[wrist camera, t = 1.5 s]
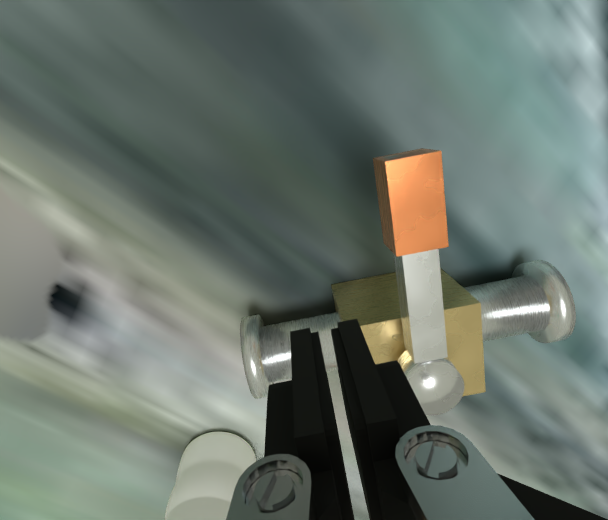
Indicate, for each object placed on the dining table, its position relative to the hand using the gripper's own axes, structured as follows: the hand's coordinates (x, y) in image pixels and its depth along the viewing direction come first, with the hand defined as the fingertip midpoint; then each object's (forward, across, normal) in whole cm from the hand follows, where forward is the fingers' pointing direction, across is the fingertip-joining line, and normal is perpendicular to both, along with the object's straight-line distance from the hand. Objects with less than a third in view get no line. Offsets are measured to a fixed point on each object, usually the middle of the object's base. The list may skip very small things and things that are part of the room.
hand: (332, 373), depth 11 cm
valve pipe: (+22, -6, +10) cm, 25 cm away
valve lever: (+13, -6, +4) cm, 15 cm away
